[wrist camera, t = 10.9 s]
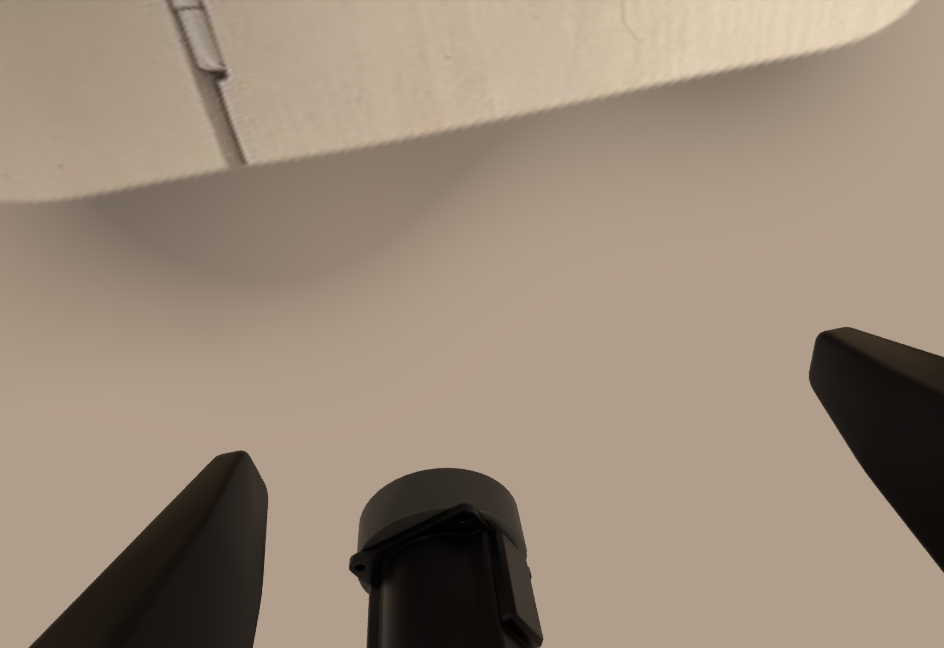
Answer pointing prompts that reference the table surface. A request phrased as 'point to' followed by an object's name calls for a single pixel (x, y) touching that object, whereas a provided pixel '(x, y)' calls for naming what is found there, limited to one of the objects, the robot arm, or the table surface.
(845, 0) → the table surface
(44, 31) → the table surface
